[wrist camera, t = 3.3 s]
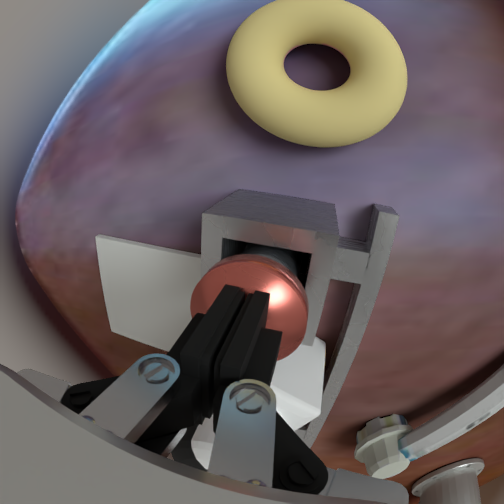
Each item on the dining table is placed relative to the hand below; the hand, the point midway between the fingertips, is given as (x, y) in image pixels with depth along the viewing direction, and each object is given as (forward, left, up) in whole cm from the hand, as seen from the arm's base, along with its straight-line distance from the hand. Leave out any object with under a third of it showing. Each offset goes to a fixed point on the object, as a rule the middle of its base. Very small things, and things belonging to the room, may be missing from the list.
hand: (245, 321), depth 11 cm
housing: (-9, -2, -9) cm, 13 cm away
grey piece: (-11, -20, -9) cm, 25 cm away
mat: (-7, +10, -9) cm, 15 cm away
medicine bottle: (-9, 0, -9) cm, 13 cm away
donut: (+11, -1, -9) cm, 15 cm away
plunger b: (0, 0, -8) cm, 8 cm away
